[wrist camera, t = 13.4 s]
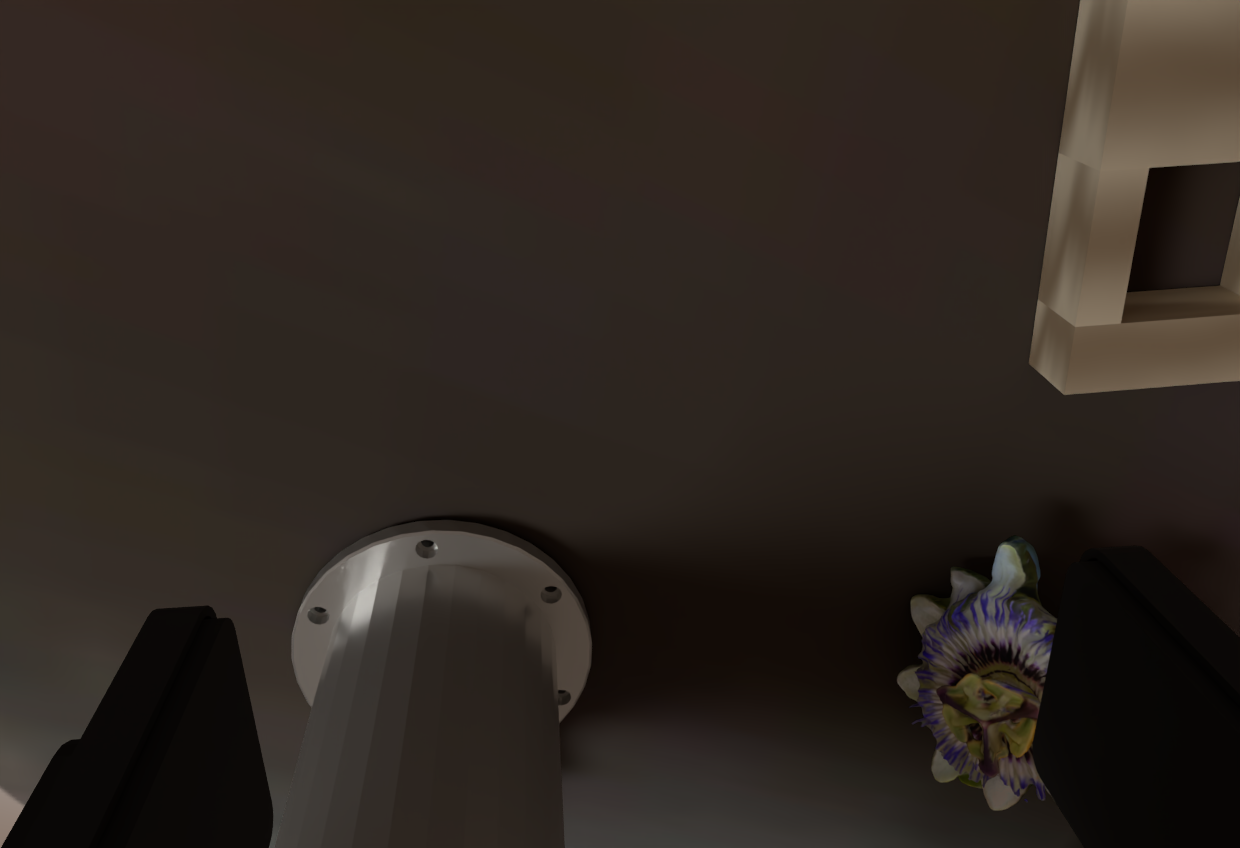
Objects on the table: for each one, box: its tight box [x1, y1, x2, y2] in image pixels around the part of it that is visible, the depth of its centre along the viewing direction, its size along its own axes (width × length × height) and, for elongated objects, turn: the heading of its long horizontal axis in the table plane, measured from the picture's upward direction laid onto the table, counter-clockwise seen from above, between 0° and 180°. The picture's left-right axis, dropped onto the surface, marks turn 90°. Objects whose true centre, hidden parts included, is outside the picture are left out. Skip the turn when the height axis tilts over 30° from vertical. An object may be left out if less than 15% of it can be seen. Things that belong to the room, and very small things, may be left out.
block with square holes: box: [1029, 0, 1240, 395], centre depth 35 cm, size 22×9×3 cm, turn 3°
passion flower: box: [897, 535, 1057, 811], centre depth 44 cm, size 11×11×12 cm
